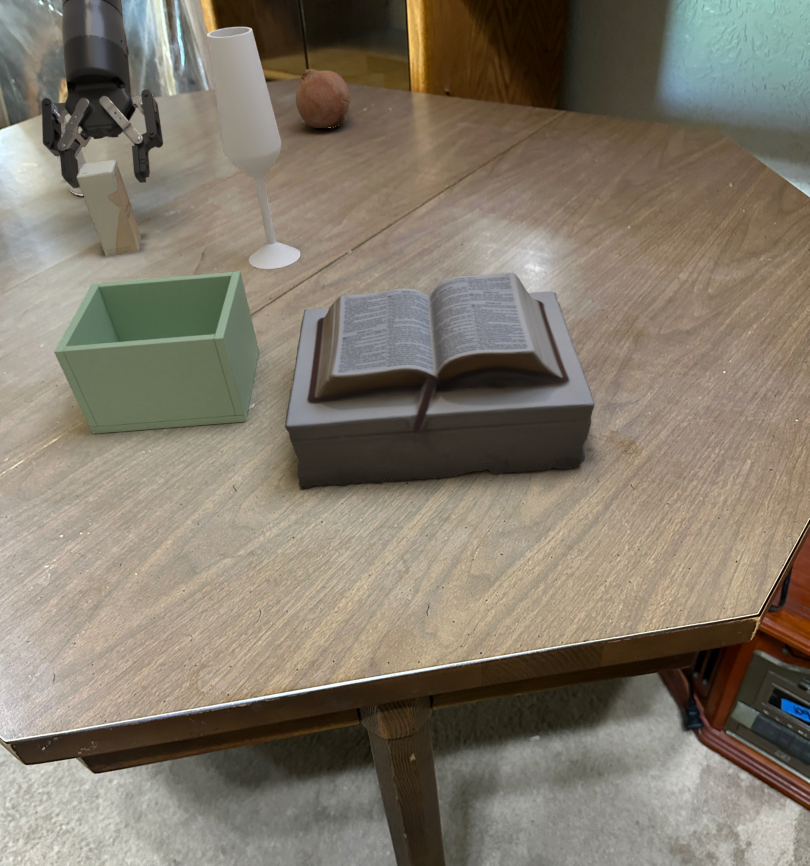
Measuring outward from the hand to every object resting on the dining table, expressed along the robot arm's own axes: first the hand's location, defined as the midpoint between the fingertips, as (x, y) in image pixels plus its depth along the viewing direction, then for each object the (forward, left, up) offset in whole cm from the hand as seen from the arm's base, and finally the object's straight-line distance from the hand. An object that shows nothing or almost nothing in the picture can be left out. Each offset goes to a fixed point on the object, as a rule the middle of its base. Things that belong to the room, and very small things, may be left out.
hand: (107, 182), depth 90 cm
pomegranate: (+25, +46, -9) cm, 53 cm away
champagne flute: (+20, -6, -9) cm, 23 cm away
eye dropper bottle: (-13, +24, -9) cm, 29 cm away
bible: (+38, -42, -9) cm, 57 cm away
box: (0, -2, -9) cm, 9 cm away
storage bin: (+13, -35, -9) cm, 38 cm away
